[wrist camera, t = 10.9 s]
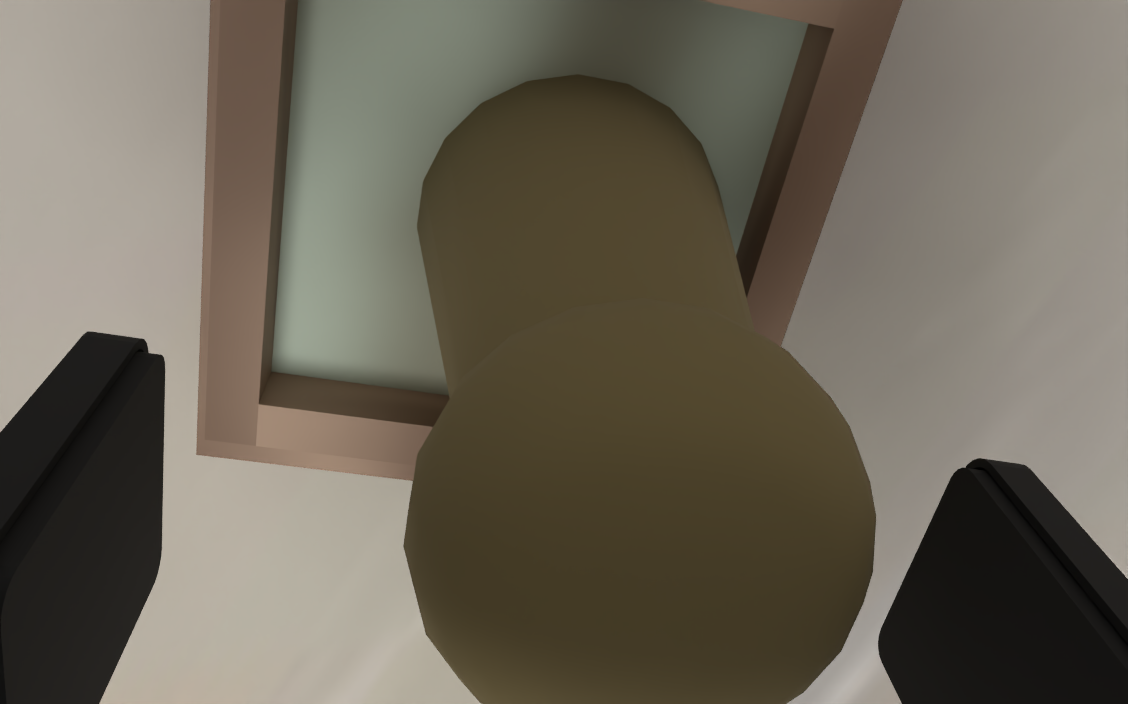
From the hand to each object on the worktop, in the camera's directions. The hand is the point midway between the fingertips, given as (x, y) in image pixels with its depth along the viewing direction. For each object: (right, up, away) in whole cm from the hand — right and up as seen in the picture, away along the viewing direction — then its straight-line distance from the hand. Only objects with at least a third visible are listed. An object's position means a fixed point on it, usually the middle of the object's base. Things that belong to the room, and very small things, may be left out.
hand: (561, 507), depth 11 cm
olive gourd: (0, +4, +8) cm, 9 cm away
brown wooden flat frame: (-1, +6, +10) cm, 12 cm away
